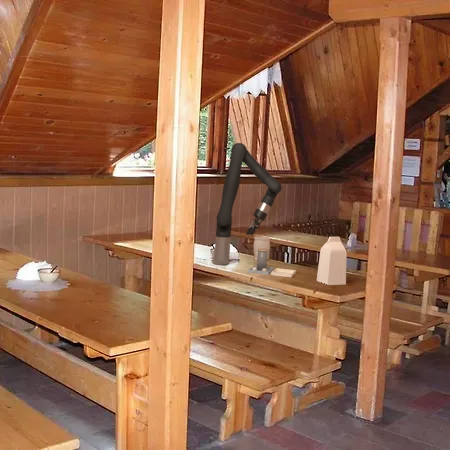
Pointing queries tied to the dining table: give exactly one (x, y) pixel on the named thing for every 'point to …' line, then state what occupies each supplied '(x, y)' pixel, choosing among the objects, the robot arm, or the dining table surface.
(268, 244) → the jar
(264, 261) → the canister
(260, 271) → the tray
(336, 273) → the milk
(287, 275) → the tray
